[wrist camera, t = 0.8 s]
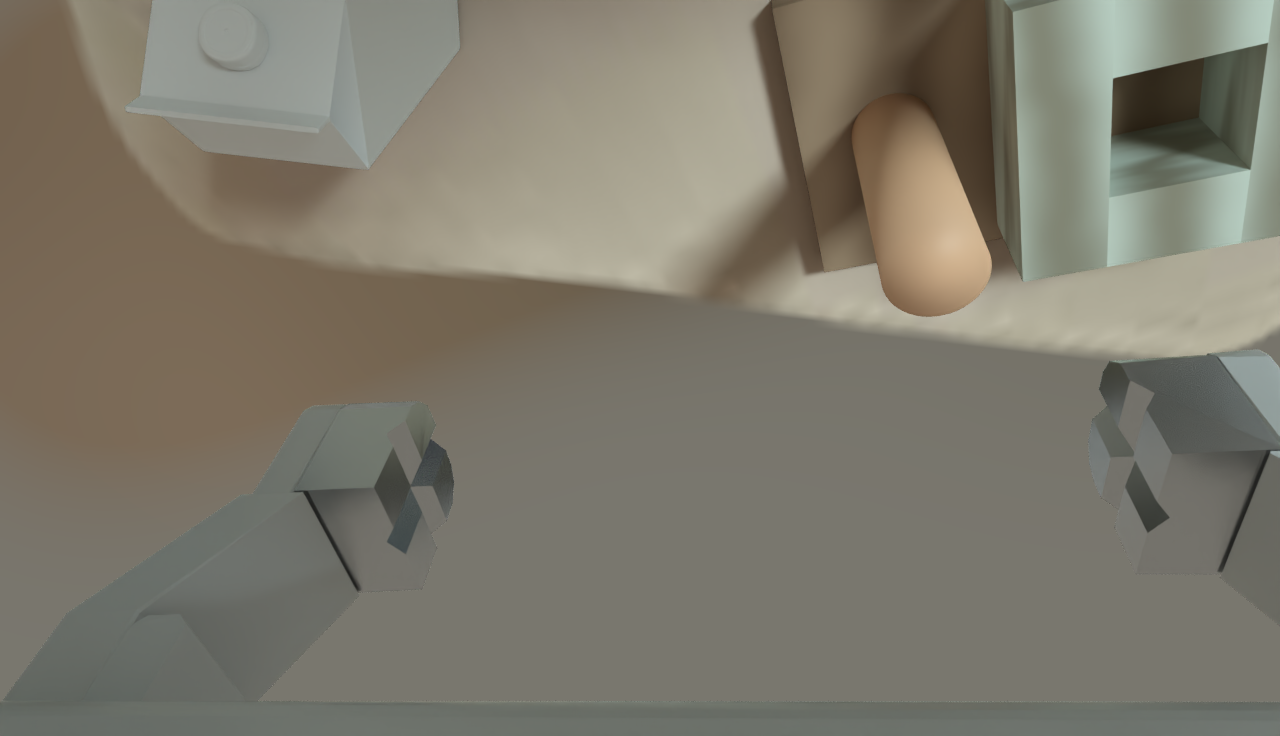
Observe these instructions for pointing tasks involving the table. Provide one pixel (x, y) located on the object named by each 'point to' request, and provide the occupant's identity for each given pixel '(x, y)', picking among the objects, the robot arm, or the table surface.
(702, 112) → the table surface
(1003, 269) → the table surface
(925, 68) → the socket board
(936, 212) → the peg
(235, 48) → the milk carton
